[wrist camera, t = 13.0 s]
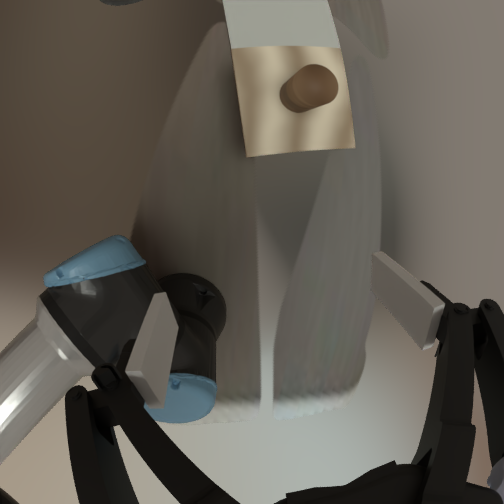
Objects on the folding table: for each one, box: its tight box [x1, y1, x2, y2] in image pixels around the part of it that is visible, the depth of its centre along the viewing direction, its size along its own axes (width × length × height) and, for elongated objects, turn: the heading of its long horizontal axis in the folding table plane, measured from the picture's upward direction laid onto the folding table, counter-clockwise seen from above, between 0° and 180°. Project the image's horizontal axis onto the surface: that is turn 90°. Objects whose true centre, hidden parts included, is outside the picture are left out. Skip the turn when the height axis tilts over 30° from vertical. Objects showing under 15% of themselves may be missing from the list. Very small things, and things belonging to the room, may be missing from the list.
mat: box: [222, 0, 340, 49], centre depth 31 cm, size 18×18×1 cm
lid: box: [231, 46, 355, 157], centre depth 25 cm, size 14×14×8 cm
